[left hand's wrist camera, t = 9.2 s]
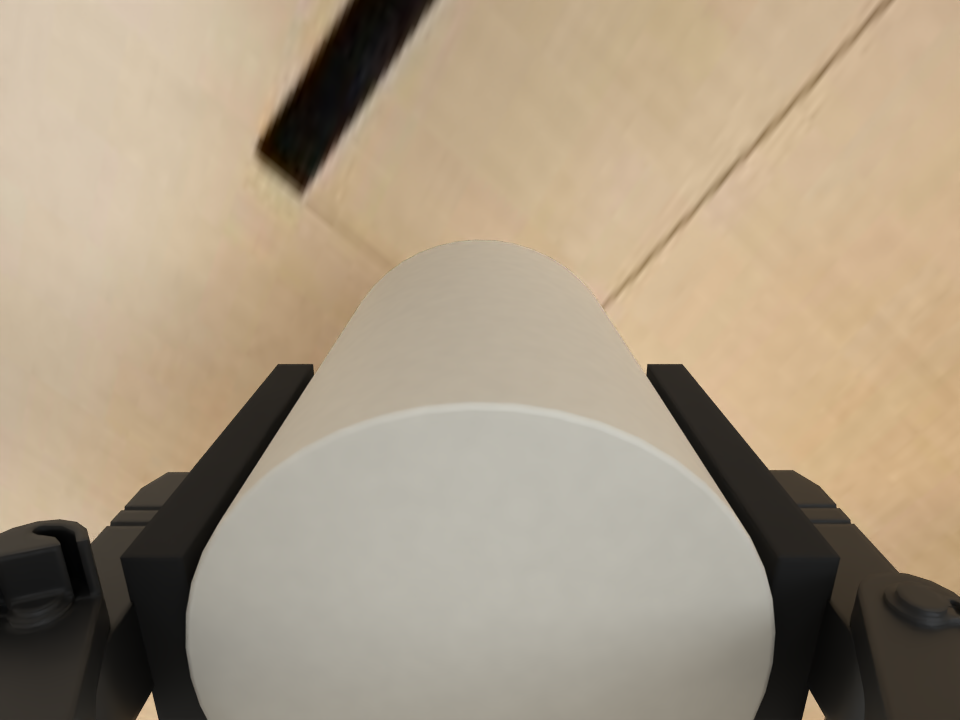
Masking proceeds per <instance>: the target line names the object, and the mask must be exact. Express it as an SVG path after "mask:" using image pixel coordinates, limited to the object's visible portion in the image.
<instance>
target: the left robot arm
mask: <svg viewBox="0 0 960 720" xmlns="http://www.w3.org/2000/svg"><path fill="white" fill-rule="evenodd" d="M313 376H314V370H313V364H278V365H277V366H276V367H275V369H274V370H273V371H272V372H271V374H270V375H269V376H268V377H267V378H266V380H265V381H264V382H263V383H262V385H261V386H260V387H259V388H258V389H257V391H256V392H255V393H254V394H253V396H252V397H251V398H250V399H249V400H248V402H247V403H246V404H245V405H244V407H243V408H242V409H241V410H240V411H239V413H238V414H237V415H236V416H235V418H234V419H233V420H232V421H231V422H230V424H229V425H228V426H227V427H226V429H225V430H224V431H223V432H222V433H221V435H220V436H219V437H218V438H217V440H216V441H215V442H214V443H213V444H212V446H211V447H210V448H209V449H208V451H207V452H206V453H205V454H204V455H203V457H202V458H201V459H200V460H199V462H198V463H197V464H196V465H195V466H194V468H193V469H192V470H191V471H190V472H168V473H166V474H164V475H163V476H161V477H159V478H158V479H156V480H154V481H153V482H151V483H149V484H148V485H146V486H144V487H143V488H141V489H140V491H139V492H138V493H137V494H136V495H135V496H134V497H133V498H132V499H131V500H130V501H129V503H128V504H127V505H126V506H125V510H121V511H120V512H119V514H118V515H117V516H116V517H115V518H114V519H113V520H112V521H111V525H110V526H107V527H106V528H105V529H104V530H103V531H102V532H101V533H100V534H99V535H98V537H97V538H96V539H95V540H94V541H93V542H92V543H91V544H90V540H89V536H88V532H87V529H86V528H85V527H83V526H82V525H80V524H79V523H78V522H74V521H67V520H60V519H59V520H48V521H38V522H34V523H30V524H26V525H23V526H19V527H15V528H12V529H10V530H7V531H5V532H3V533H0V720H136V718H137V716H138V715H139V713H140V711H141V709H142V708H143V706H144V704H145V702H146V701H147V699H148V697H149V695H150V694H151V692H152V694H153V698H154V702H155V706H156V710H157V715H158V719H159V720H207V718H206V716H205V714H204V712H203V710H202V708H201V706H200V704H199V701H198V698H197V695H196V692H195V689H194V686H193V683H192V680H191V677H190V671H189V665H188V659H187V653H186V610H187V604H188V599H189V593H190V588H191V582H192V579H193V577H194V574H195V571H196V568H197V566H198V563H199V560H200V557H201V555H202V552H203V550H204V548H205V547H206V545H207V543H208V541H209V540H210V538H211V536H212V534H213V533H214V531H215V529H216V527H217V525H218V524H219V522H220V520H221V519H222V517H223V516H224V514H225V513H226V511H227V510H228V508H229V506H230V505H231V503H232V502H233V500H234V499H235V497H236V496H237V494H238V493H239V491H240V489H241V488H242V486H243V485H244V483H245V482H246V480H247V479H248V477H249V475H250V474H251V472H252V471H253V469H254V468H255V466H256V465H257V463H258V461H259V460H260V458H261V457H262V455H263V454H264V452H265V451H266V449H267V448H268V446H269V444H270V443H271V441H272V440H273V438H274V437H275V435H276V434H277V432H278V430H279V429H280V427H281V426H282V424H283V423H284V421H285V420H286V418H287V416H288V415H289V413H290V412H291V410H292V409H293V407H294V406H295V404H296V403H297V401H298V399H299V398H300V396H301V395H302V393H303V392H304V390H305V389H306V387H307V385H308V384H309V382H310V381H311V379H312V378H313ZM646 376H647V378H648V379H649V381H650V382H651V384H652V385H653V387H654V388H655V390H656V392H657V393H658V395H659V396H660V398H661V399H662V401H663V402H664V404H665V405H666V407H667V409H668V410H669V412H670V413H671V415H672V416H673V418H674V419H675V421H676V423H677V424H678V426H679V427H680V429H681V430H682V432H683V433H684V435H685V437H686V438H687V440H688V441H689V443H690V444H691V446H692V447H693V449H694V451H695V452H696V454H697V455H698V457H699V458H700V460H701V461H702V463H703V464H704V466H705V468H706V469H707V471H708V472H709V474H710V475H711V477H712V478H713V480H714V482H715V483H716V485H717V486H718V488H719V489H720V491H721V492H722V494H723V496H724V497H725V499H726V500H727V502H728V503H729V505H730V506H731V508H732V509H733V511H734V513H735V514H736V516H737V517H738V519H739V520H740V522H741V523H742V525H743V527H744V528H745V530H746V531H747V533H748V534H749V536H750V537H751V540H752V542H753V544H754V546H755V548H756V550H757V553H758V555H759V557H760V559H761V561H762V564H763V566H764V568H765V572H766V576H767V579H768V583H769V587H770V591H771V594H772V598H773V609H774V620H775V643H774V655H773V664H772V668H771V672H770V676H769V680H768V684H767V688H766V692H765V694H764V697H763V699H762V701H761V704H760V706H759V708H758V711H757V713H756V715H755V718H754V720H802V717H803V712H804V708H805V704H806V700H807V696H808V691H809V690H810V691H811V693H812V695H813V696H814V698H815V700H816V702H817V703H818V705H819V707H820V709H821V710H822V712H823V714H824V716H825V719H824V720H960V597H959V596H958V595H956V594H955V593H954V592H952V591H950V590H948V589H946V588H944V587H942V586H940V585H938V584H936V583H934V582H932V581H930V580H926V579H923V578H920V577H916V576H913V575H910V574H905V573H899V572H898V571H897V570H896V569H895V568H894V567H893V566H892V565H891V563H890V562H889V561H888V560H887V559H886V558H885V557H884V556H883V555H882V554H881V553H880V552H879V550H878V549H877V548H876V547H875V546H874V545H873V544H872V543H871V542H870V541H869V540H868V538H867V537H866V536H865V535H864V534H863V533H862V532H861V531H860V530H859V529H858V528H857V527H856V525H855V524H851V522H850V519H849V518H848V517H847V516H846V515H845V513H844V512H843V511H842V510H841V509H840V508H837V507H836V504H835V503H834V502H833V500H832V499H831V498H830V497H829V496H828V495H827V494H826V493H825V492H824V491H823V490H822V488H821V487H820V486H818V485H817V484H815V483H813V482H812V481H810V480H808V479H807V478H805V477H803V476H802V475H800V474H798V473H797V472H795V471H793V470H768V468H767V467H766V466H765V465H764V463H763V462H762V461H761V460H760V459H759V457H758V456H757V455H756V454H755V452H754V451H753V450H752V449H751V448H750V446H749V445H748V444H747V443H746V441H745V440H744V439H743V438H742V437H741V435H740V434H739V433H738V432H737V430H736V429H735V428H734V427H733V426H732V424H731V423H730V422H729V421H728V419H727V418H726V417H725V416H724V415H723V413H722V412H721V411H720V410H719V408H718V407H717V406H716V405H715V404H714V402H713V401H712V400H711V399H710V397H709V396H708V395H707V394H706V393H705V391H704V390H703V389H702V388H701V386H700V385H699V384H698V383H697V382H696V380H695V379H694V378H693V377H692V375H691V374H690V373H689V372H688V371H687V369H686V368H685V367H684V366H683V364H647V375H646Z"/></svg>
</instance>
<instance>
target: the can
mask: <svg viewBox="0 0 960 720" xmlns="http://www.w3.org/2000/svg"><path fill="white" fill-rule="evenodd" d="M774 643H775V620H774V609H773V598H772V594H771V591H770V587H769V583H768V579H767V576H766V572H765V568H764V566H763V564H762V561H761V559H760V557H759V555H758V553H757V550H756V548H755V546H754V544H753V542H752V540H751V537H750V536H749V534H748V533H747V531H746V530H745V528H744V527H743V525H742V523H741V522H740V520H739V519H738V517H737V516H736V514H735V513H734V511H733V509H732V508H731V506H730V505H729V503H728V502H727V500H726V499H725V497H724V496H723V494H722V492H721V491H720V489H719V488H718V486H717V485H716V483H715V482H714V480H713V478H712V477H711V475H710V474H709V472H708V471H707V469H706V468H705V466H704V464H703V463H702V461H701V460H700V458H699V457H698V455H697V454H696V452H695V451H694V449H693V447H692V446H691V444H690V443H689V441H688V440H687V438H686V437H685V435H684V433H683V432H682V430H681V429H680V427H679V426H678V424H677V423H676V421H675V419H674V418H673V416H672V415H671V413H670V412H669V410H668V409H667V407H666V405H665V404H664V402H663V401H662V399H661V398H660V396H659V395H658V393H657V392H656V390H655V388H654V387H653V385H652V384H651V382H650V381H649V379H648V378H647V376H646V374H645V373H644V371H643V370H642V368H641V367H640V365H639V364H638V362H637V360H636V359H635V357H634V356H633V354H632V353H631V351H630V350H629V348H628V347H627V345H626V343H625V342H624V340H623V339H622V337H621V336H620V334H619V333H618V331H617V329H616V328H615V326H614V325H613V323H612V322H611V320H610V319H609V317H608V315H607V314H606V312H605V311H604V309H603V308H602V306H601V305H600V303H599V302H598V300H597V299H596V297H595V296H594V294H593V293H592V292H591V291H590V290H589V288H588V287H587V286H586V285H585V284H584V283H583V282H582V281H581V280H580V279H579V278H578V277H577V276H576V275H575V274H573V273H572V272H571V271H570V270H569V269H567V268H566V267H565V266H563V265H562V264H560V263H558V262H557V261H555V260H554V259H552V258H550V257H548V256H546V255H544V254H542V253H540V252H537V251H535V250H533V249H530V248H527V247H523V246H520V245H517V244H513V243H507V242H501V241H495V240H468V241H458V242H452V243H448V244H444V245H440V246H436V247H433V248H431V249H428V250H425V251H423V252H420V253H418V254H416V255H414V256H412V257H410V258H409V259H407V260H405V261H403V262H401V263H400V264H399V265H397V266H396V267H395V268H393V269H392V270H390V271H389V272H388V273H386V274H385V275H384V276H383V277H382V278H381V279H380V280H379V281H378V282H377V283H376V284H375V285H374V286H373V287H372V289H371V290H370V291H369V292H368V294H367V295H366V296H365V298H364V299H363V300H362V302H361V303H360V305H359V306H358V308H357V309H356V311H355V313H354V314H353V316H352V317H351V319H350V320H349V322H348V323H347V325H346V326H345V328H344V330H343V331H342V333H341V334H340V336H339V337H338V339H337V340H336V342H335V344H334V345H333V347H332V348H331V350H330V351H329V353H328V354H327V356H326V358H325V359H324V361H323V362H322V364H321V365H320V367H319V368H318V370H317V371H316V373H315V375H314V376H313V378H312V379H311V381H310V382H309V384H308V385H307V387H306V389H305V390H304V392H303V393H302V395H301V396H300V398H299V399H298V401H297V403H296V404H295V406H294V407H293V409H292V410H291V412H290V413H289V415H288V416H287V418H286V420H285V421H284V423H283V424H282V426H281V427H280V429H279V430H278V432H277V434H276V435H275V437H274V438H273V440H272V441H271V443H270V444H269V446H268V448H267V449H266V451H265V452H264V454H263V455H262V457H261V458H260V460H259V461H258V463H257V465H256V466H255V468H254V469H253V471H252V472H251V474H250V475H249V477H248V479H247V480H246V482H245V483H244V485H243V486H242V488H241V489H240V491H239V493H238V494H237V496H236V497H235V499H234V500H233V502H232V503H231V505H230V506H229V508H228V510H227V511H226V513H225V514H224V516H223V517H222V519H221V520H220V522H219V524H218V525H217V527H216V529H215V531H214V533H213V534H212V536H211V538H210V540H209V541H208V543H207V545H206V547H205V548H204V550H203V552H202V555H201V557H200V560H199V563H198V566H197V568H196V571H195V574H194V577H193V579H192V582H191V588H190V593H189V599H188V604H187V610H186V653H187V659H188V665H189V671H190V677H191V680H192V683H193V686H194V689H195V692H196V695H197V698H198V701H199V704H200V706H201V708H202V710H203V712H204V714H205V716H206V718H207V720H754V718H755V715H756V713H757V711H758V708H759V706H760V704H761V701H762V699H763V697H764V694H765V692H766V688H767V684H768V680H769V676H770V672H771V668H772V664H773V655H774Z"/></svg>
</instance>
